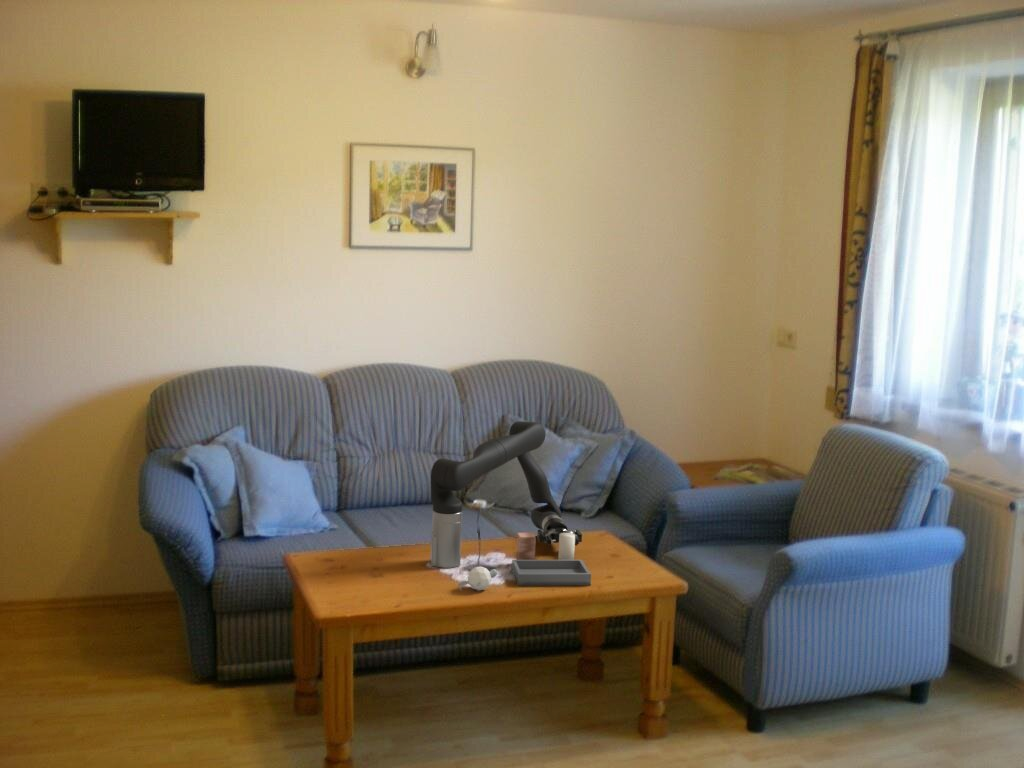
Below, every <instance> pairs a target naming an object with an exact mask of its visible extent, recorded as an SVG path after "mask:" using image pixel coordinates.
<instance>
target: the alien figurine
mask: <svg viewBox="0 0 1024 768" xmlns="http://www.w3.org/2000/svg"><path fill="white" fill-rule="evenodd" d="M497 574H498V571H497V570H496V569H495V568H493V569H491V570H490V571H489V569H488V568H486V567H483V566H480V565H479V566H475V567H474V568H473V569H470V571H469V573H468V576H467V580H465V581H461V582H459V583H458V584H457V586H458V589H459V590H460V591H462V587H464V586H466V585H469V586H470V588H471V589H473V590H474V591H484V590H486V589H487V588H488V587H490V585H491V583H492V578H494V577H496V576H497Z"/></svg>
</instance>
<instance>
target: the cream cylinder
mask: <svg viewBox="0 0 1024 768" xmlns="http://www.w3.org/2000/svg"><path fill="white" fill-rule="evenodd" d="M575 547H576V546H575V534H572V533H560V534H559V543H558V558H557V560H575Z"/></svg>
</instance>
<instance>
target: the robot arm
mask: <svg viewBox="0 0 1024 768" xmlns="http://www.w3.org/2000/svg"><path fill="white" fill-rule="evenodd" d="M546 433H547V432H546V429H545V428H544V426H543V425H542V424H540V423H538V422H535V421H521V420H520V421H514V422H513V423H512V424H511V426H510V427H509V432H508V435H503V436H498V437H493V438H491V439H489V440H486V441H484V442H483V443H480V444H479V445H478V446H477V447H476V448H475V450H474V451H473V453H472V454H473V455H472V457H471V458H469V459H466V460H463V461H458V460H454V459H448V458H439V459H436V461H435V462H434V463H433V465H432V467H431V471H430V502H431V505H432V521H431V523H432V525H431V528H432V529H431V535H430V537H431V538H430V563H431V564H430V565H431V567H437V568H445V569H449V568H452V569H453V568H456V567H459V566H460V565H461V559H462V556H461V554H462V533H463V531H462V530H463V529H462V528H463V527H462V525H463V502H462V501H461V500H460V499H459V498H458V497H457V496H456V495H455V494H454V493H453V492H459V491H462V490H464V489H465V488H466V487H468V486H469V485H471V484H472V483H474V482H475V481H477V480H478V479H479V478H480V477H483V476H485V475H486V474H488V473H490V472H491V471H493V470H496V469H497V468H499V467H501V466H503V465H504V464H507V463H508V462H510V461H512V460H514V459H515V458H517V461H518V462H519V465H520V467H521V469H522V471H523V473H524V476H525V479H526V483H527V486H528V490H529V495H530V497H531V501H532V502H533V503H535V504H544V505H540V506H537V507H534V508H533V509H532V511H531V512H530V519H531V522H532V523H533V525H534V526H535V527H536V528H537V536H536V537H537V538H536V539H537V540H538V542H539V543H542V542H544V543H545V544H547V545H548V546H552V543H554V544H557V543H558V544H559V534H560V533H572V534H575V547H576V546H578V545H580V543H582V542H583V534H582V533H581V532H580V530H578V529H574V531H570V530H568V529H569V528H568V526H567V524H566V523H565V522H564V520H563V519H562V511H561V509H560V507H559V506H558V504H557V503H556V501H555V499H554V497H553V495H552V492H551V488H550V485H549V480H548V478H547V475H546V473H545V472H544V470H543V469H542V467H541V466H540V465H539V464H538V463H537V461H536V460H535V458H534V457H533V456H532V454H531V452H532V451H534V450H537V449H539V448H540V447H542V445H543V444H544V443H545V440H546V435H547V434H546Z"/></svg>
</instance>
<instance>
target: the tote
mask: <svg viewBox="0 0 1024 768" xmlns="http://www.w3.org/2000/svg"><path fill="white" fill-rule="evenodd" d="M512 571H513V572H512ZM511 572H512V574H514V575H513V577H514V576H515V577H514V579H515V581H517V582H516V584H517V586H518V587H519V586H523V587H525V586H526V587H527V586H529V587H530V586H535V587H537V586H539V587H540V586H544V587H545V586H547V587H548V586H550V587H551V586H554V587H555V586H591V583H592V573H591V571H590V570H589V568H588V567H587V565H586V564H585V562H584V560H583V559H574V560H558V559H535V560H516V559H511Z"/></svg>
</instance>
